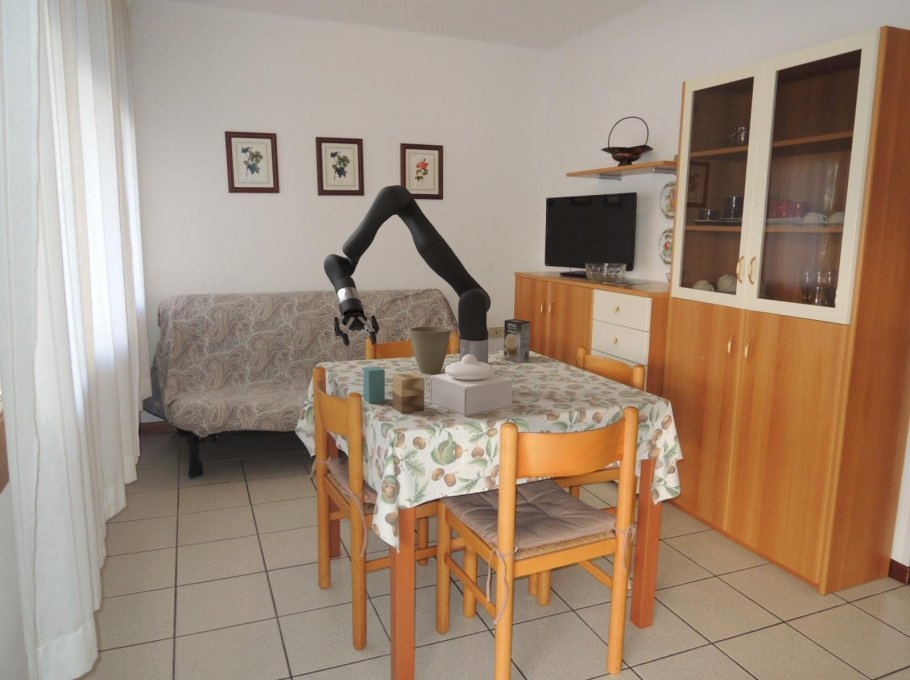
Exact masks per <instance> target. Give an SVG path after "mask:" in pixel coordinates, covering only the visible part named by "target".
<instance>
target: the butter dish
mask: <svg viewBox="0 0 910 680" xmlns="http://www.w3.org/2000/svg"><path fill="white" fill-rule="evenodd" d="M495 372H496V371H495V368H494V367H493V365H491V364H490V363H489V364H487V363H484V362H479V361H477V358H476V357H475V356H474V355H471V354H467V355H465V356H464V357H463V358H462V360H461V361H460V360H459V361H456V362H452V363H449V364H448V365H447V366H446V367H445V368H444V373H440V374H439V373H437V374H433V375H432V374H431V375H430V378H429V402H430V404H432V405H435V406H437V407H439V406H440V408H442V409H444V408H445V409H444V410H447V409H448V411H450V412H452V411H453V413H455V414H457V413H458V415H460V416H462V415H463V417H469V416H474V415H479V414H484V413H490V412H495V411H498V410H503V409H508V408H512V404H513V403H512V400H513V399H512V397H513V395H512V394H513V393H512V391H513V381H514V379H513V378H510V377H506V376H503V375H499V374H496V373H495Z"/></svg>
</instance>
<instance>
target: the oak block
mask: <svg viewBox="0 0 910 680" xmlns="http://www.w3.org/2000/svg"><path fill="white" fill-rule="evenodd" d="M393 392H395V393H396V394H398V395H399V396H401V397H406V396H414V395H423V394H424V395H425V377H424V376H422V375H420V374H418V373H416V372H409V373H406V372H405V373H398V374H397V373H396V374H392V393H393Z"/></svg>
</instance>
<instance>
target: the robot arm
mask: <svg viewBox="0 0 910 680" xmlns="http://www.w3.org/2000/svg"><path fill="white" fill-rule="evenodd" d="M392 216H398V218H399V219H401V221H402V222H403V224H405V226H406V227H407V228H408V231H409V233H410V234H411V237H412V240H413V244H414V246H415V248H416V250H417V253H418V254H419V256H420V257H421V258H422V260H424V262H425V263H426V265H427V266H428V267H429V268H430V269H431V270H432V271H433V272H434V273H435V274H436V275H438V276H439V277H440V278H441V279H442V280H443V281H445V282H446V283H448V285H449V286H450V287H451V288H452V290H454V293H456V295H457V296H458V298H459V299H458V303H457V304H458V306H457V319H458V320H457V322H458V323H457V327H458V328H457V329H458V332H459V361H461V360H462V358H463V357H464V356H465V355H467V354H471V355H474V356H475V357H476V358H477V361H479V362H484V363H487V364H489V365H490V363H489V335H490V334H489V329H488V325H487V323H488V322H487V320H488V319H487V318H488V317H487V316H488V315H487V313H488V312H489V310H490V309H491V306H492V305H491V304H492V301H491V297H490V295H489V293H488V292H487V291H486V290H485V289H484V287H482V286H481V284H480V283H478V281H476V279H475V278H474V277H473V276H472V275H471V274H470V273H469V271H467V269H466V267H465V266H464V264H463V263H462V261H461V260H460V258H458V255H456V253H455V251H454V250H453V249H452V248H451V246H450V245H449V244H448V242H447V241H446V240H445V238H444V237H443V236H442V235H441V234H440V233H439V231H438V229H436V228H435V226H434V224H433V223H432V222H431V221H430V220H429V218H428V217H427V216H426V215H425V214H424V212H423V211H422V209H421V208H420V206H419V204H418V203H417V200H416V199H415V198H414V196H413V194H412V193H411V192H410V190H408V189H407V187H405V186H404V185H400V184H393V185H387V186H384V187H383V188H381V189H380V190H379V192H378V193H377V194H376V197H375V198H374V200H373V202H372V204H371V205H370V207H369V209H368V211H367V213H366V214H365V216H364V218H363V219H362V220H361V222H360V223H359V224H358V226H357V228H356V229H354V231H353V232H352V234H351V235H350V236H349V237H348V238H347V240H346V241H345V242H344V243H343V245H342V247H341V249H342V253H343V254H344V255H345V256H346V257H344V256H342V255H339V254H334V253H332V254H328V255H327V256H326V257H325V259H324V261H323V269H324V273H325V274H326V276H327V278H328V280H329V282H330V284H332V286H333V288H334V292H335V295H336V301H337V307H338V308H339V313H340V318H339V317H338V316H335V317H334V318H333V322H332V325H333V329H334V336H335V337H341V338H342V342H343V345H344V346H345V347H349V346H350V344H351V342H350V337H349V334H348V333H349V331H352V332H354V331H355V332H356V331H362V332H364V334H365V333H366V334H368V335H369V339H370V340H369V341H370V343H371V346H374V345H375V344H376V343H377V341H378V339H377V335H378V333H379V331H380V326H379V323H378V321H377V318H376V316H375V314H374V315H371V316H370V317H367V315H365V311H364V307H363V303H362V300H361V297H360V294H359V292H358V289H357V286H356V282H355V281H354V278H353V277H352V276H353V275H354V273H355V272H356V268H357V266H358V264H359V262H360V259H361V257H362V256H363V255H364V253H365V252H366V251H367V250H368V249H370V246H371V245H372V243H373V242H374V240H375V238H376V236H377V233H378V232H379V230H380V228H381V227H382V226H383V225H384V223H385V222H386V221H388V220H389V219H390V218H391V217H392ZM341 324H342V325H343V326H344V328H343V330H341V326H340V325H341Z"/></svg>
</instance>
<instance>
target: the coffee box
mask: <svg viewBox="0 0 910 680" xmlns="http://www.w3.org/2000/svg"><path fill="white" fill-rule="evenodd" d="M531 323H532V322H531V321H529V320H524V319H518V318H512V319H511V318H510V319H506V320H505V319H504V323H503V325H504V327H503V328H504V329H503V356H502V357H503V359H502V360H504V361H505V360H506V361H508V362H509V361H510V362H513V363H520V364H521V363H527V362H529V361H530V352H531V351H530V350H531V349H530V347H531V329H532V328H531Z"/></svg>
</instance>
